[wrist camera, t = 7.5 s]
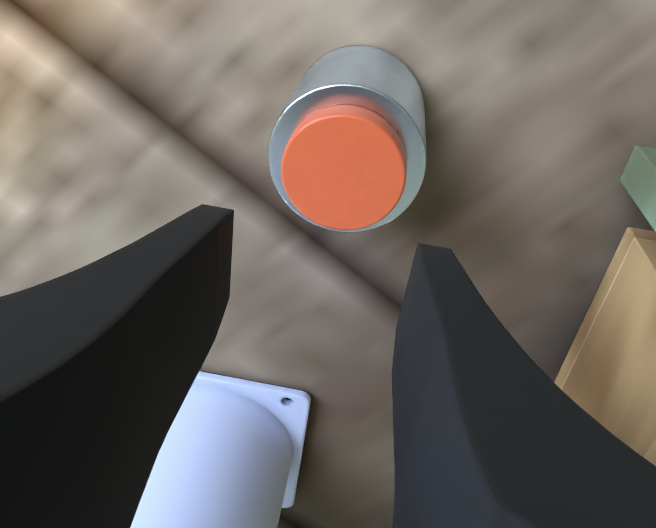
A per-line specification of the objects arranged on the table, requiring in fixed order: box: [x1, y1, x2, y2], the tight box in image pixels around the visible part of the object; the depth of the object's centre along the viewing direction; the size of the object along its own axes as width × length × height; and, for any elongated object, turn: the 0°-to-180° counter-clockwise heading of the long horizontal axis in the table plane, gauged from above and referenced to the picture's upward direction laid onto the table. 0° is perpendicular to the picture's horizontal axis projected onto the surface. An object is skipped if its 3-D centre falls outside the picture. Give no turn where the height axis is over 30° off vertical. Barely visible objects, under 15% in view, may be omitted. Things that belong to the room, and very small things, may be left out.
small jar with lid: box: [268, 45, 426, 232], centre depth 17 cm, size 4×4×5 cm
